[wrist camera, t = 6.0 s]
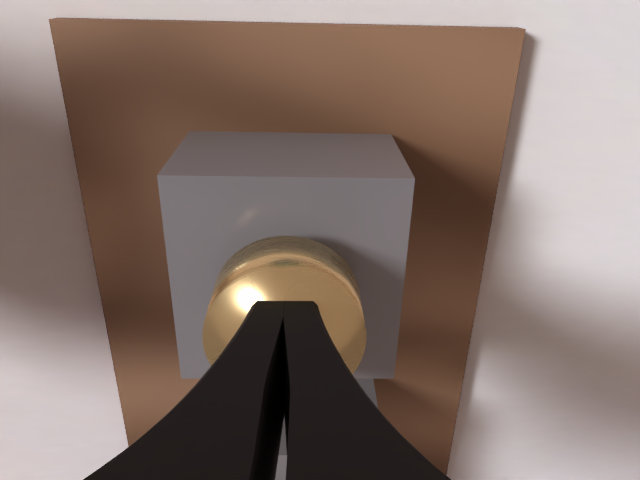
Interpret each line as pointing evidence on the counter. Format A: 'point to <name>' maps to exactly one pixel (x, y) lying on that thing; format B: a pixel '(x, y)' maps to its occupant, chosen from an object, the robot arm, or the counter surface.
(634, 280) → the counter surface
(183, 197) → the twin gray blocks
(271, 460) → the robot arm
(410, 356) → the walnut board
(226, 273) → the brass round knob
